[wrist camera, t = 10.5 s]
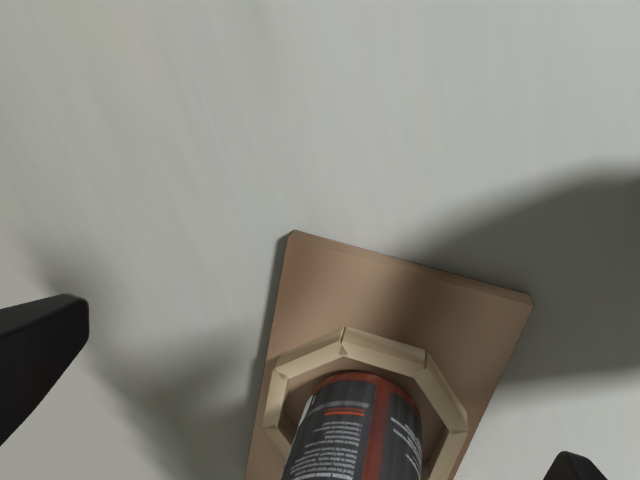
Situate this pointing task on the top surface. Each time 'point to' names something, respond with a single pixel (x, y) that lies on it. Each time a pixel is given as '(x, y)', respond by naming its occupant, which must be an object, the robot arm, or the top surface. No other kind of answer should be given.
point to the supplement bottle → (357, 432)
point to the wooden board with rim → (383, 345)
